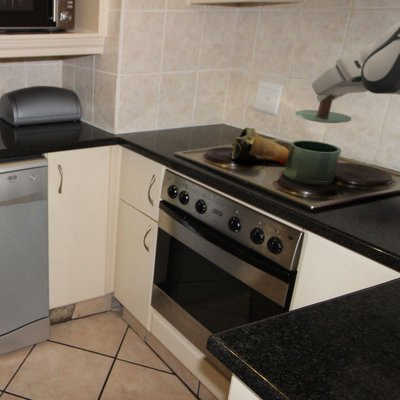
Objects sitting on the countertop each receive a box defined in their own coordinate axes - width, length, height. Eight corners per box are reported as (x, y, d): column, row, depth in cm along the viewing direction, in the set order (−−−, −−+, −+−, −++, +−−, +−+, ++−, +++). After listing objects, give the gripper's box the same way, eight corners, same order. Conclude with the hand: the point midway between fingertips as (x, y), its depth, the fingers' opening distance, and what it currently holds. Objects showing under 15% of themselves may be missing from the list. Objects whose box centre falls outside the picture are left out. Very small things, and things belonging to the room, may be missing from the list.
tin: (338, 178, 140) (346, 147, 136) (323, 188, 132) (332, 155, 128) (293, 167, 148) (300, 138, 144) (276, 176, 140) (283, 145, 136)
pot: (304, 140, 141) (244, 119, 143) (288, 176, 142) (229, 154, 144) (284, 144, 158) (231, 125, 160) (270, 176, 159) (218, 156, 161)
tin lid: (356, 120, 133) (364, 90, 130) (341, 127, 124) (349, 95, 121) (304, 112, 142) (311, 84, 139) (287, 118, 133) (293, 88, 130)
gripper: (389, 55, 124) (344, 88, 136) (335, 57, 117) (293, 91, 129) (402, 75, 122) (355, 106, 134) (348, 78, 115) (303, 111, 126)
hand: (324, 99), depth 131 cm, fingers closed on tin lid, 3 cm apart
